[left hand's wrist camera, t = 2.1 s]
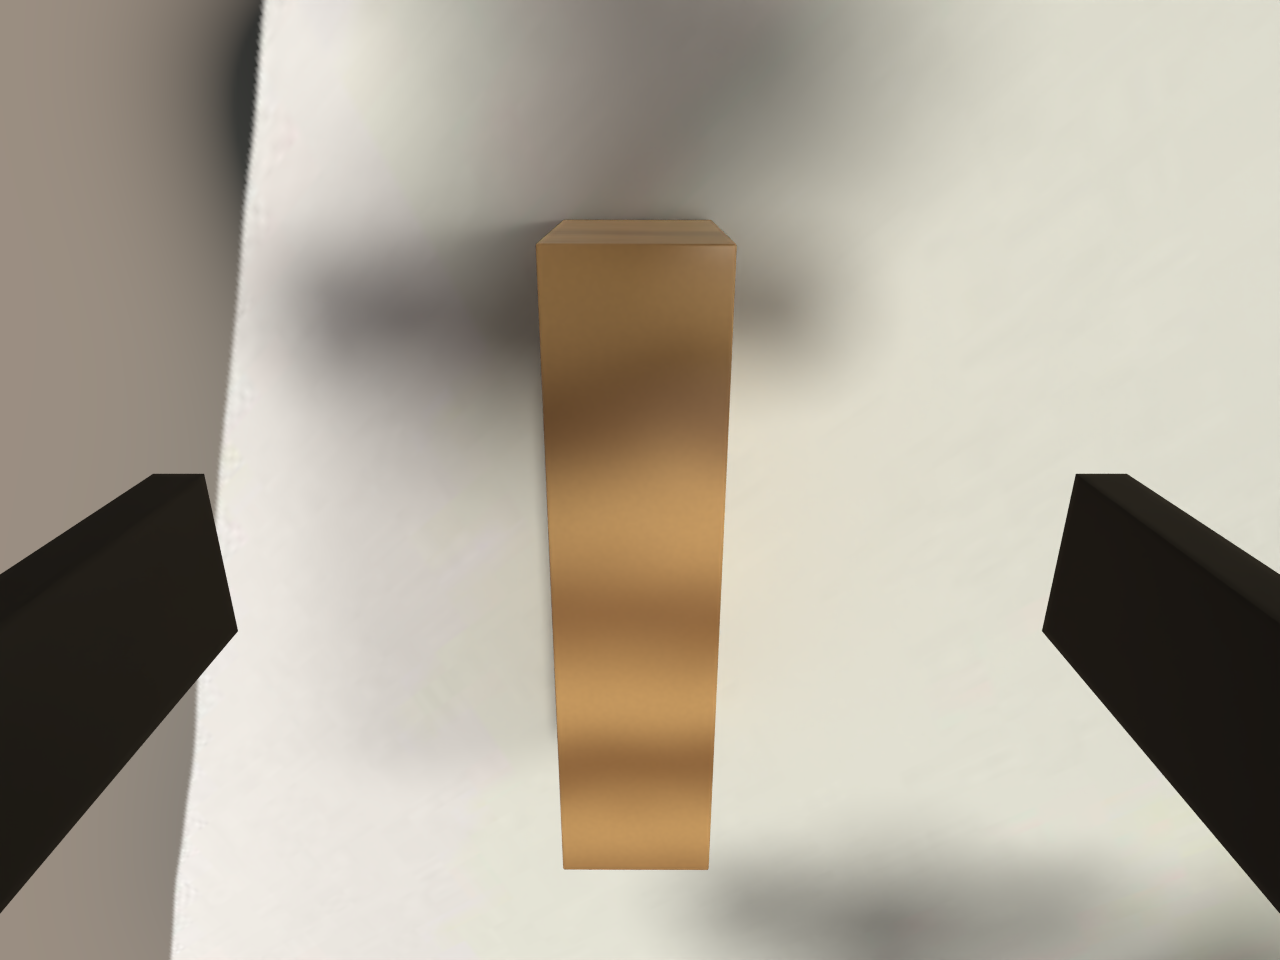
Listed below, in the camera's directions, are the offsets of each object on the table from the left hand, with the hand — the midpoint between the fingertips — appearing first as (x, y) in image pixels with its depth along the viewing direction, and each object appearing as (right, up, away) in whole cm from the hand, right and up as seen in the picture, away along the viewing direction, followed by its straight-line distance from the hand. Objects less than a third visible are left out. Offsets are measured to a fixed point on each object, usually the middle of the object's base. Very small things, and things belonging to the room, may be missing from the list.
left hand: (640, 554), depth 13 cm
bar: (0, 0, +22) cm, 22 cm away
